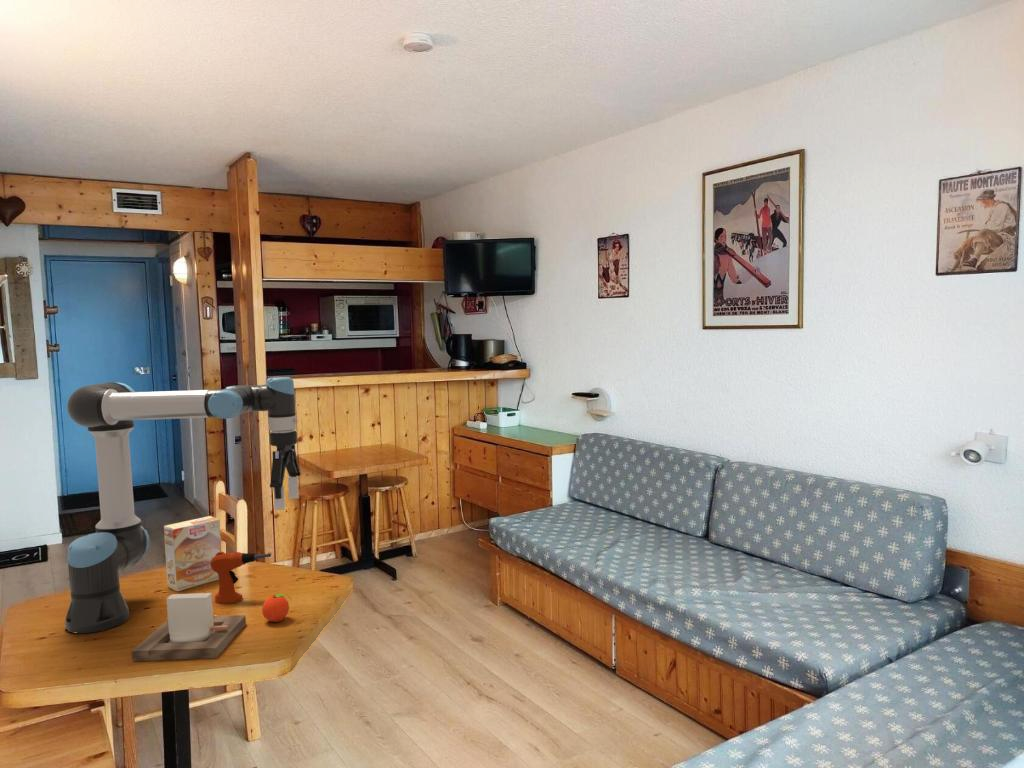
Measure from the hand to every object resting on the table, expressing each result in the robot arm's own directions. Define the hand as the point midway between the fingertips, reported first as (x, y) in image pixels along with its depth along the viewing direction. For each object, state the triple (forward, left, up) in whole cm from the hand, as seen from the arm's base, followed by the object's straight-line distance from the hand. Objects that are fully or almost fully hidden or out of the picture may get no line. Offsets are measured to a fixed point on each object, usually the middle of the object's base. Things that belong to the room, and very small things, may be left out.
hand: (287, 503), depth 209 cm
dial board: (-17, -28, -28) cm, 43 cm away
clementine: (+1, -16, -28) cm, 33 cm away
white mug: (-15, -28, -27) cm, 42 cm away
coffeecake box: (-35, +17, -28) cm, 48 cm away
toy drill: (-14, 0, -28) cm, 32 cm away
